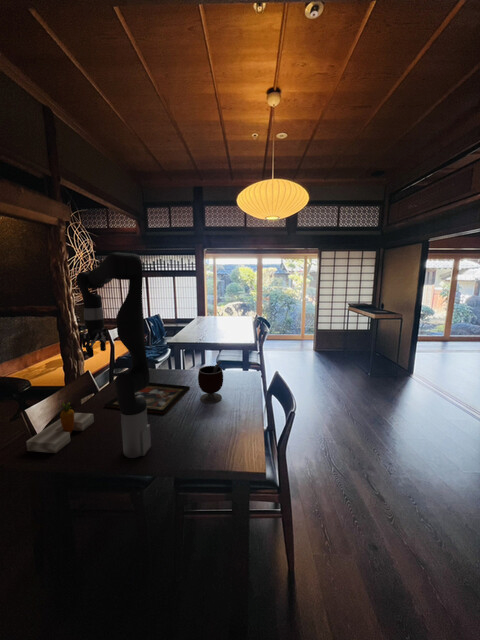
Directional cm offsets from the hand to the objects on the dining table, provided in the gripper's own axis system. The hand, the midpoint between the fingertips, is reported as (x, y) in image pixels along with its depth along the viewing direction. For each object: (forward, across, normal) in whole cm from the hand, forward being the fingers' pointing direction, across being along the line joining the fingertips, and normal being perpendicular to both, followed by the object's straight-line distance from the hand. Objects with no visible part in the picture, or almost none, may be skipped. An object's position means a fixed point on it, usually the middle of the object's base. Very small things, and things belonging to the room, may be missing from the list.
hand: (97, 353), depth 115 cm
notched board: (+33, -12, +10) cm, 37 cm away
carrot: (+33, -12, +8) cm, 36 cm away
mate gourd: (+33, +29, -46) cm, 64 cm away
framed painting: (+34, +26, -11) cm, 44 cm away
